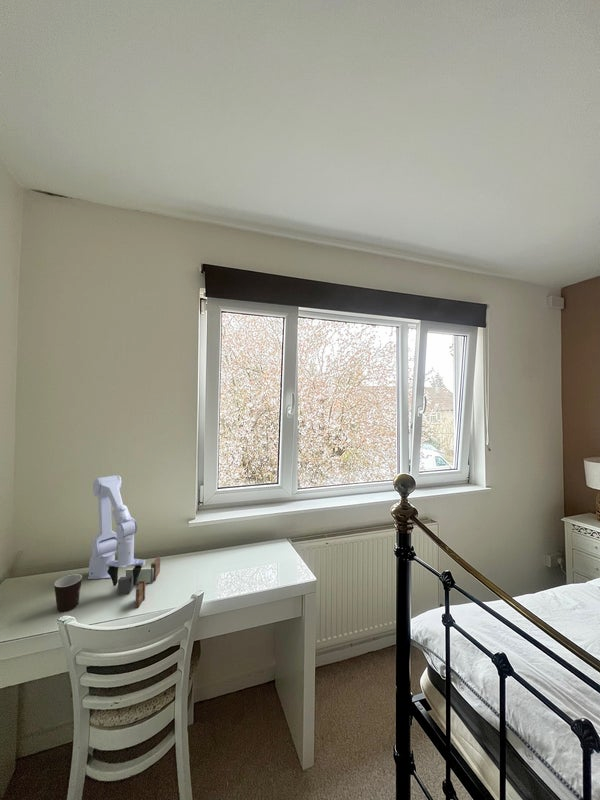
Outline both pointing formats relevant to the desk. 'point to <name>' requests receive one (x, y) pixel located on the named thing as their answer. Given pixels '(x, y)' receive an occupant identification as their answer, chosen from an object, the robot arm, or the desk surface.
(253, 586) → the desk surface
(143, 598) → the door frame
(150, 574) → the door
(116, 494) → the robot arm
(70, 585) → the coffee mug
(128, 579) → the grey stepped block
